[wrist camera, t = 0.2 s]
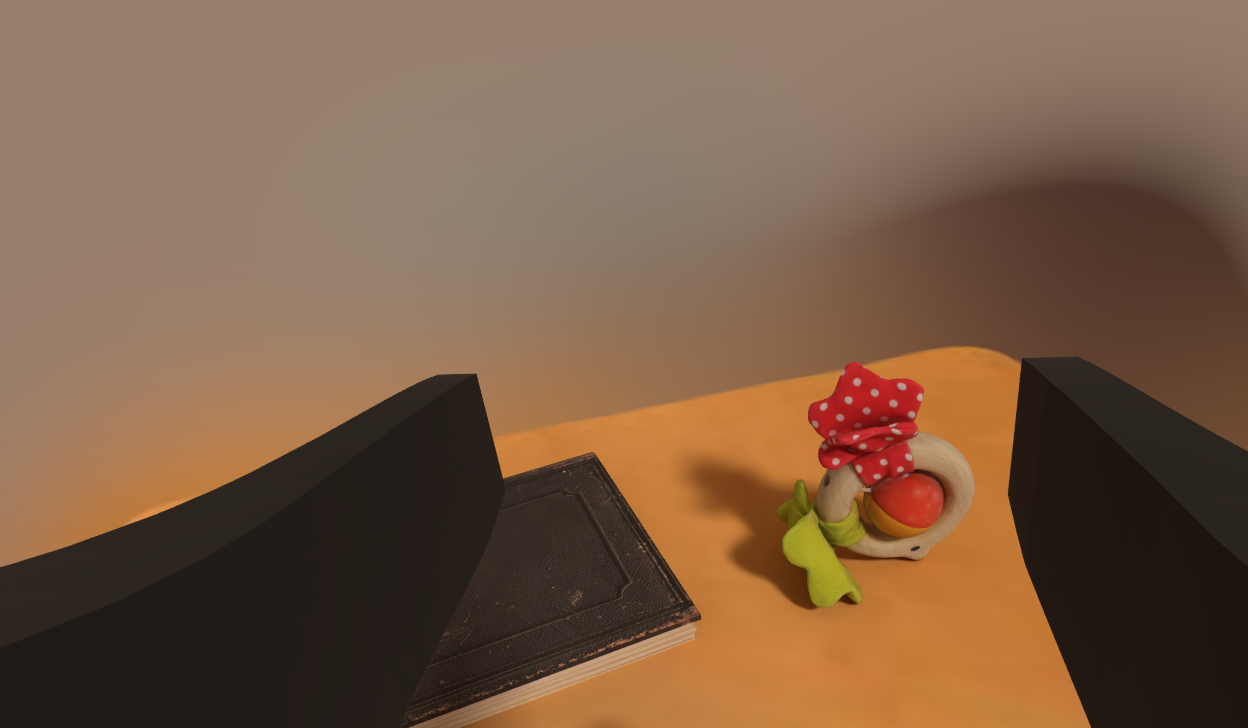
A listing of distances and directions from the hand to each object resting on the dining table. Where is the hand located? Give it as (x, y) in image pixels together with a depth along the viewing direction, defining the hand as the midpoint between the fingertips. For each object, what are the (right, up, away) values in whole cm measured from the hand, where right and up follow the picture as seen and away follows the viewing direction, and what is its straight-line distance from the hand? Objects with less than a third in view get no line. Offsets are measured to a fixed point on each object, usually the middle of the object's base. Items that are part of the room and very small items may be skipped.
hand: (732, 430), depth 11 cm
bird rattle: (+11, -9, +28) cm, 32 cm away
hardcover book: (-11, -12, +29) cm, 34 cm away
